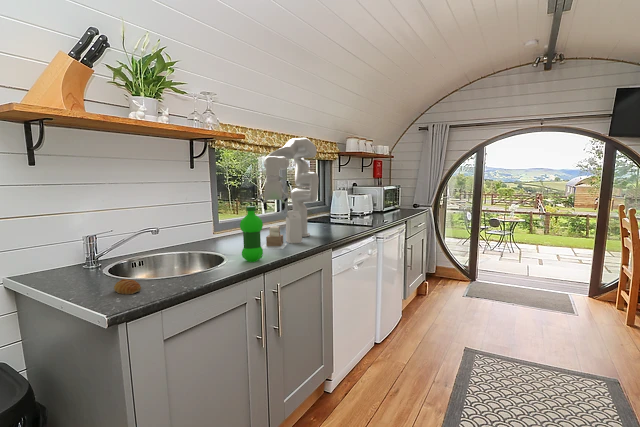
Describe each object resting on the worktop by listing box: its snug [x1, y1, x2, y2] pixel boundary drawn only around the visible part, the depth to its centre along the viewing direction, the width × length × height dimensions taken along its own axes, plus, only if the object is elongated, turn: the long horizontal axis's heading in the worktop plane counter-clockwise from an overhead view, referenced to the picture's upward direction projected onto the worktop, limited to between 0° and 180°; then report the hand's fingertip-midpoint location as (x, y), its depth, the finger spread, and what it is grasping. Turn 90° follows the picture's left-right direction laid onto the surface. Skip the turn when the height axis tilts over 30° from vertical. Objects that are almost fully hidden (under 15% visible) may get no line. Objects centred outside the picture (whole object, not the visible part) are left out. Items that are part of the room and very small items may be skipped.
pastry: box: [113, 278, 142, 295], centre depth 115 cm, size 9×7×4 cm
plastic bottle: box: [239, 205, 264, 263], centre depth 156 cm, size 10×10×25 cm
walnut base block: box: [265, 234, 284, 246], centre depth 190 cm, size 8×8×5 cm
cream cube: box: [268, 225, 281, 237], centre depth 189 cm, size 5×5×5 cm
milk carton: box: [285, 210, 303, 244], centre depth 197 cm, size 7×7×19 cm
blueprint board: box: [261, 242, 289, 250], centre depth 186 cm, size 16×13×1 cm
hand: (274, 210), depth 188 cm, fingers open, 9 cm apart
